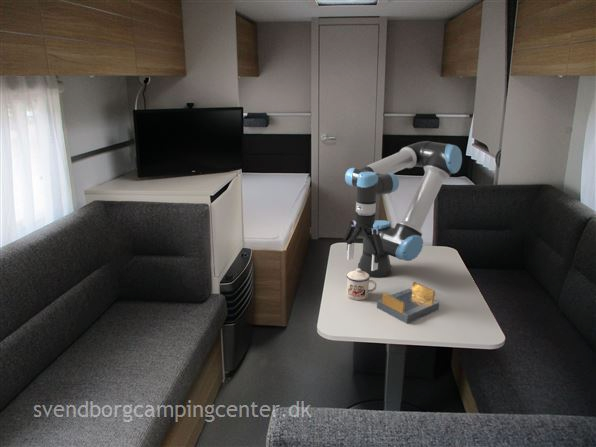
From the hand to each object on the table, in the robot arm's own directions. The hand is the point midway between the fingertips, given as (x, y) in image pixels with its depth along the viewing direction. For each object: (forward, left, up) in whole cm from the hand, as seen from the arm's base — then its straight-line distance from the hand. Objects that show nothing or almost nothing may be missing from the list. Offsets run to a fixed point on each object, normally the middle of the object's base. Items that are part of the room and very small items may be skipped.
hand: (362, 264), depth 198 cm
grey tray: (+18, +7, -14) cm, 24 cm away
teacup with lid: (0, 0, -14) cm, 14 cm away
